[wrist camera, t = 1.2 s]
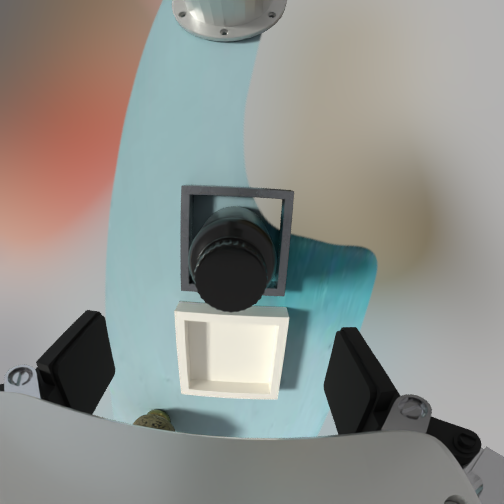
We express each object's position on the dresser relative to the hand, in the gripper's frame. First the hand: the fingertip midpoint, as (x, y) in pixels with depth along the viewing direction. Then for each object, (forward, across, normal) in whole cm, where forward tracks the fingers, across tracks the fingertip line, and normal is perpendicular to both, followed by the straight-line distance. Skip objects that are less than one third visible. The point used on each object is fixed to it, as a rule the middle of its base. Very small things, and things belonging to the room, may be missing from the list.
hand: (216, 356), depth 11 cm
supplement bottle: (+20, 0, 0) cm, 20 cm away
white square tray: (+20, 0, +13) cm, 24 cm away
